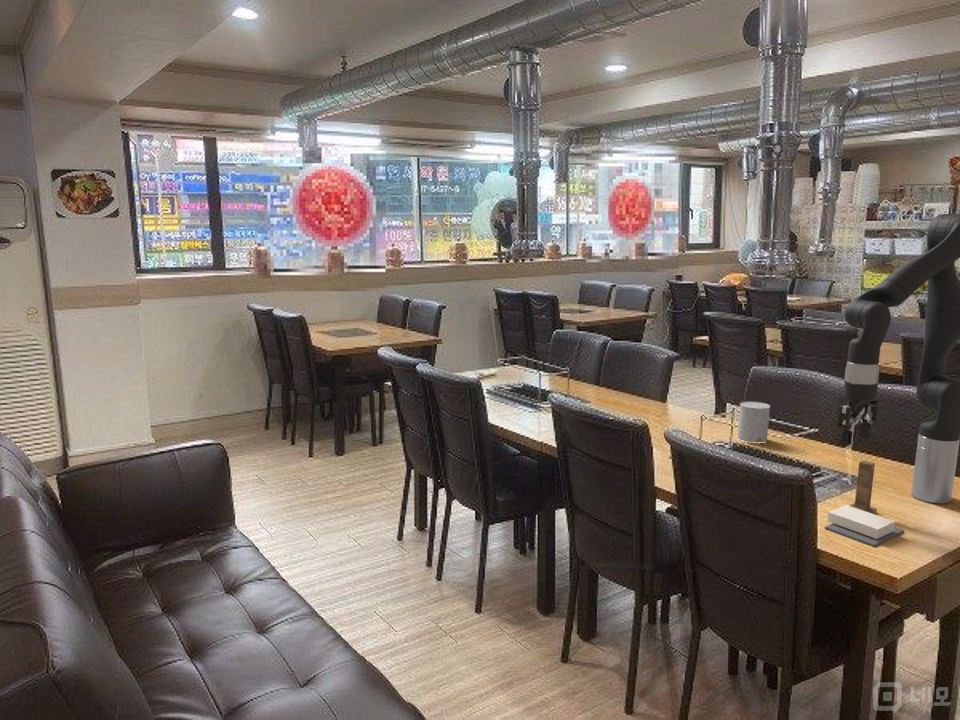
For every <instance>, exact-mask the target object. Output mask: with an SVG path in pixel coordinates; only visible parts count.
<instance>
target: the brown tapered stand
mask: <svg viewBox="0 0 960 720" xmlns="http://www.w3.org/2000/svg"><path fill="white" fill-rule="evenodd" d="M875 466H876V463H875V462H871V461H868V460H862V461H860V462H859V463H858V469H857V470H858V471H857V481H856V491H855V500H854V503H852V504H849V505H848V506H851V507H854V508H857V509H860V510H863V511H866V512H869V513H872V514H877V511H878V508H877V507H874V506H871V499H872V492H873V484H874V483H873V482H874V474H875Z"/></svg>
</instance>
